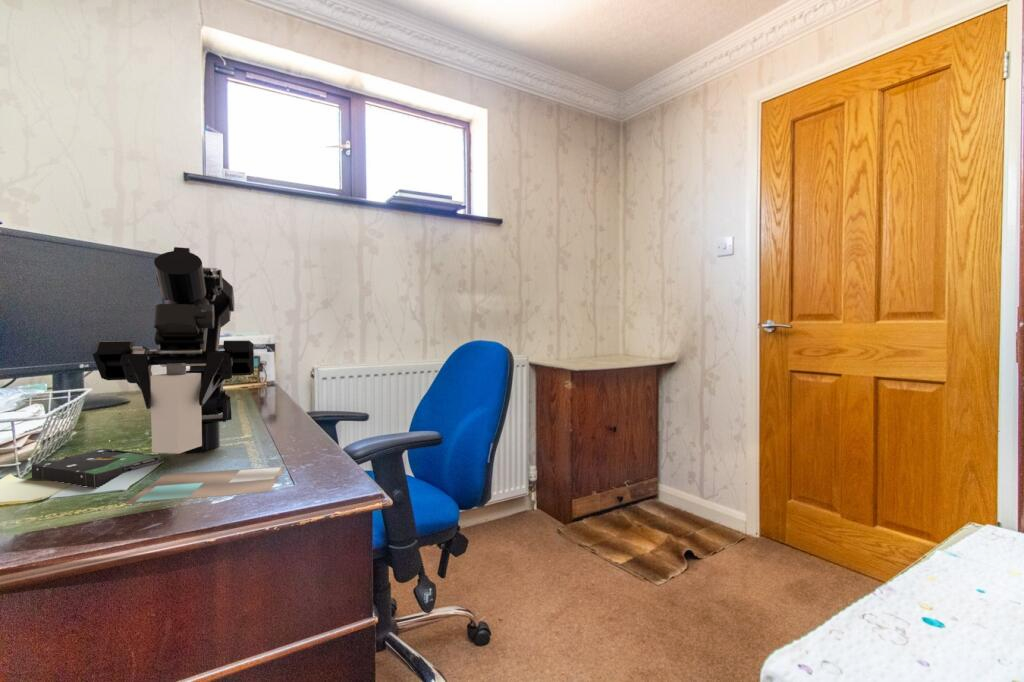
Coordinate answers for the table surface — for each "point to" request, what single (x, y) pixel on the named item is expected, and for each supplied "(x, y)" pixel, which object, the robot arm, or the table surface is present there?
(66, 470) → the disk drive
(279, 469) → the board
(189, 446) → the capped white bottle
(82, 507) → the table surface
